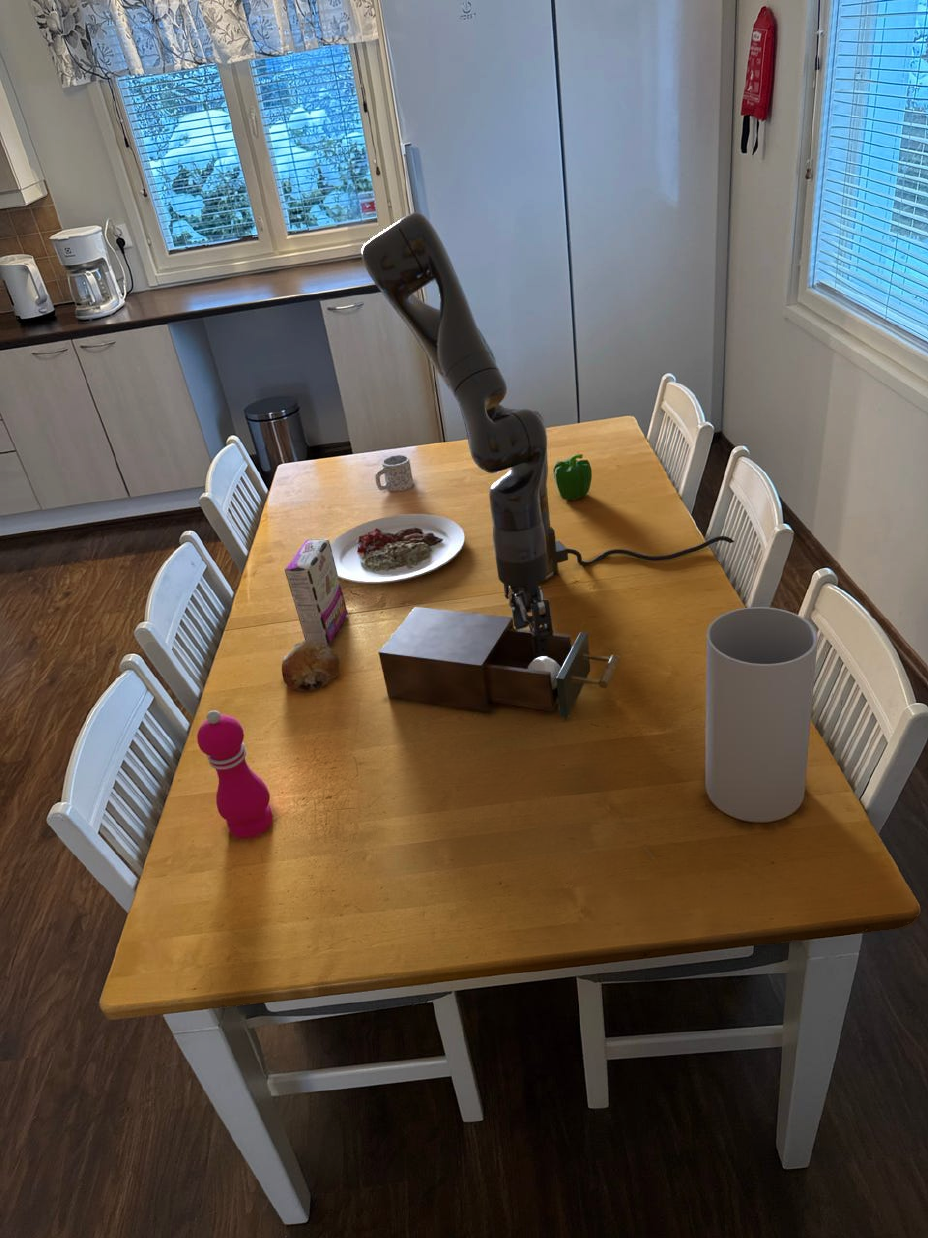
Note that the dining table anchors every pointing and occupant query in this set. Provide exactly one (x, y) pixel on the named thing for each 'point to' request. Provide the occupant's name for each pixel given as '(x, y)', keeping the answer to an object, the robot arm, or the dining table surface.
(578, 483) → the bell pepper
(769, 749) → the cylinder vase
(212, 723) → the pepper mill
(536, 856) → the dining table surface
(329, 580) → the candy bar box
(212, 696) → the dining table surface
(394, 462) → the mug
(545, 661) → the garlic bulb
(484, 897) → the dining table surface
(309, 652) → the bread roll
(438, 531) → the plated food
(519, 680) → the drawer
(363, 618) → the dining table surface
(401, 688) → the cabinet
